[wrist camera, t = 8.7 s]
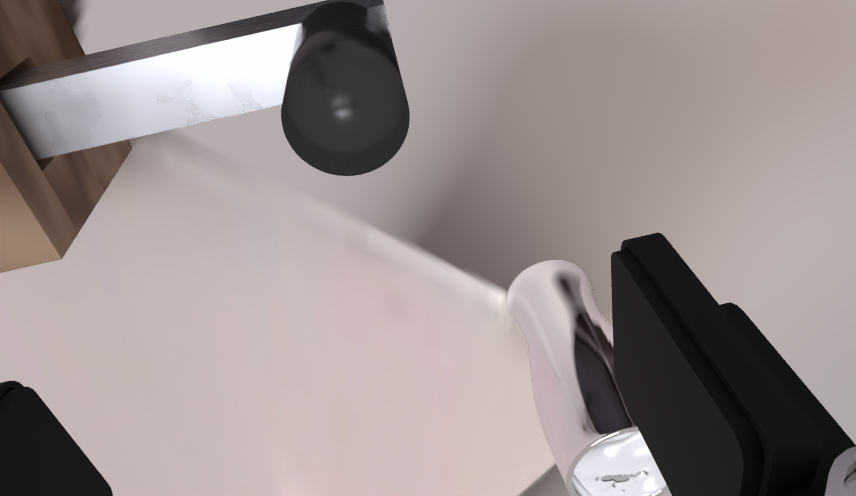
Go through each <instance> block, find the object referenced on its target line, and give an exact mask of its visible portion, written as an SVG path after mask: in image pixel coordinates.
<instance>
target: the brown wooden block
mask: <svg viewBox="0 0 856 496" xmlns="http://www.w3.org/2000/svg"><path fill="white" fill-rule="evenodd" d="M84 55H85V54H84V51H83V49H82V47H81V45H80V43H79V41H78V39H77V37H76V35H75V33H74V31H73V29H72V27H71V25H70V23H69V21H68V19H67V17H66V15H65V13H64V11H63V9H62V7H61V5H60V3H59V1H58V0H0V78H1V77H2V76H3V75H5V74H6V73H9V72H14V71H18V70H23V69H27V68H31V67H36V66H40V65H45V64H49V63H53V62H58V61H62V60H67V59H71V58H75V57H80V56H84ZM131 149H132V148H131V146H130V144H129V142H128V140H123V141H118V142H114V143H109V144H105V145H101V146H96V147H92V148H87V149H83V150H78V151H74V152H70V153H65V154H61V155H56V156H52V157H47V158H43V159H39V160H35V159H34V157H33V155H32V154H31V152H30V150H29V149H28V147H27V145H26V144H25V142H24V140H23V139H22V137H21V135H20V134H19V132H18V130H17V129H16V127H15V125H14V124H13V122H12V120H11V119H10V117H9V115H8V114H7V112H6V110H5V109H4V107H3V105H2V104H1V102H0V273H2V272H6V271H11V270H15V269H20V268H24V267H29V266H33V265H37V264H42V263H46V262H51V261H55V260H60V259H62V258H63V256H64V255H65V253H66V251H67V250H68V248H69V247H70V245H71V244H72V242H73V240H74V239H75V237H76V236H77V234H78V233H79V231H80V229H81V228H82V226H83V225H84V223H85V222H86V220H87V218H88V217H89V215H90V214H91V212H92V211H93V209H94V207H95V206H96V204H97V203H98V201H99V200H100V198H101V196H102V195H103V193H104V192H105V190H106V189H107V187H108V185H109V184H110V182H111V181H112V179H113V178H114V176H115V175H116V173H117V171H118V170H119V168H120V167H121V165H122V164H123V162H124V160H125V159H126V157H127V156H128V154H129V153H130V151H131Z"/></svg>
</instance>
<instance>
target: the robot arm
mask: <svg viewBox="0 0 856 496" xmlns="http://www.w3.org/2000/svg"><path fill="white" fill-rule="evenodd" d="M611 277H612V278H611V279H612V318H613V356H614V374H615V379H616V383H617V386H618V389H619V391H620V393H621V395H622V397H623V399H624V401H625V403H626V405H627V407H628V409H629V411H630V413H631V415H632V417H633V419H634V421H635V423H636V425H637V427H638V429H639V431H640V433H641V435H642V437H643V439H644V441H645V443H646V445H647V447H648V449H649V451H650V453H651V455H652V457H653V459H654V461H655V463H656V465H657V467H658V469H659V471H660V473H661V474H662V476H663V478H664V480H665V482H666V484H667V486H668V488H669V490H670V492H671V494H672V496H856V445H855V444H854V443H853V441H852V440H851V439H850V438H849V437H848V436H847V434H846V433H845V432H844V431H843V429H842V428H841V427H840V426H839V425H838V423H837V422H836V421H835V420H834V419H833V417H832V416H831V415H830V414H829V413H828V412H827V410H826V409H825V408H824V407H823V405H822V404H821V403H820V402H819V401H818V400H817V398H816V397H815V396H814V395H813V394H812V393H811V391H810V390H809V389H808V388H807V386H806V385H805V384H804V383H803V382H802V380H801V379H800V378H799V377H798V376H797V375H796V373H795V372H794V371H793V370H792V368H791V367H790V366H789V365H788V364H787V363H786V361H785V360H784V359H783V358H782V357H781V355H780V354H779V353H778V352H777V351H776V350H775V348H774V347H773V346H772V345H771V343H769V341H768V340H767V339H766V337H765V336H764V335H763V334H762V333H761V332H760V330H759V329H758V328H757V327H756V326H755V324H754V323H753V322H752V321H751V320H750V319H749V317H748V316H747V315H746V314H745V313H744V311H743V310H741V309H740V308H739V307H738V306H737V305H735V304H733V303H725V304H722V305H719V304H718V303H717V302H716V301H715V299H714V298H713V297H712V295H711V294H710V293H709V292H708V290H707V289H706V288H705V287H704V285H703V284H702V283H701V282H700V280H699V279H698V278H697V277H696V275H695V274H694V273H693V272H692V270H691V269H690V268H689V267H688V265H687V264H686V263H685V262H684V261H683V259H682V258H681V257H680V255H679V254H678V253H677V252H676V250H675V249H674V248H673V247H672V245H671V244H670V243H669V242H668V240H667V239H666V238H665V237H664V236H663V235H662V234H661V233H654V234H650V235H645V236H641V237H637V238H632V239H628V240H624V241H623V242H622V245H621V251H617V252H613V253H612V255H611ZM0 496H113V494H112V490H111V488H110V486H109V484H108V483H107V482H106V480H105V479H104V478H103V477H102V475H101V474H100V473H99V472H98V470H97V469H96V468H95V466H94V465H93V464H92V463H91V461H90V460H89V459H88V458H87V456H86V455H85V454H84V453H83V451H82V450H81V449H80V447H79V446H78V445H77V444H76V442H75V441H74V440H73V439H72V437H71V436H70V435H69V434H68V432H67V431H66V430H65V429H64V427H63V426H62V425H61V423H60V422H59V421H58V420H57V418H56V417H55V416H54V415H53V413H52V412H51V411H50V410H49V408H48V407H47V406H46V404H45V403H44V402H43V401H42V399H41V398H40V397H39V396H38V394H37V393H36V392H35V391H34V390H33V389H32V388H29V387H24V386H23V385H22V384H20V383H19V382H16V381H7V382H3V383H0Z"/></svg>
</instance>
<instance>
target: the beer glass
mask: <svg viewBox="0 0 856 496" xmlns="http://www.w3.org/2000/svg"><path fill="white" fill-rule="evenodd" d="M507 308H508V311H509V313H510V315H511V317H512V318H513V320H514V321H515V322H516V324H517V325H518V326H519V328H520V329H521V331H522V333H523V335H524V337H525V340H526V344H527V349H528V356H529V365H530V374H531V382H532V390H533V395H534V400H535V406H536V410H537V414H538V417H539V420H540V424H541V427H542V430H543V433H544V435H545V438H546V440H547V443H548V446H549V448H550V450H551V453H552V455H553V457H554V459H555V462H556V464H557V466H558V468H559V470H560V472H561V475H562V477H563V479H564V481H565V483H566V487H567V490H568V492H569V494H570V495H571V496H659V495H661V494H663V493H664V492H666V491H667V490H668V489H669V488H668V486H667V484H666V482H665V480H664V478H663V476H662V474H661V473H660V471H659V469H658V467H657V465H656V463H655V461H654V459H653V457H652V455H651V453H650V451H649V449H648V447H647V445H646V443H645V441H644V439H643V437H642V435H641V433H640V431H639V429H638V427H637V425H636V423H635V421H634V419H633V417H632V415H631V413H630V411H629V409H628V407H627V405H626V403H625V401H624V399H623V397H622V395H621V393H620V391H619V389H618V386H617V383H616V379H615V374H614V356H613V325H612V324H611V323H610V322H609V321H608V320H607V319H606V317H605V316H604V315H603V314H602V312H601V311H600V309H599V308H598V305H597V303H596V301H595V297H594V293H593V289H592V285H591V281H590V279H589V277H588V275H587V273H586V272H585V271H584V270H583V269H582V268H581V267H580V266H578V265H577V264H575V263H573V262H570V261H566V260H559V259H558V260H557V259H554V260H546V261H542V262H539V263H536V264H534V265H532V266H530V267H528V268H527V269H525V270H524V271H523V272H521V273H520V274H519V275H518V276H517V277H516V278H515V280H514V281H513V282H512V284H511V285H510V288H509V290H508V293H507Z"/></svg>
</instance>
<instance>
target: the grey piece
mask: <svg viewBox="0 0 856 496" xmlns="http://www.w3.org/2000/svg"><path fill="white" fill-rule="evenodd" d="M0 102H1V104H2V105H3V107H4V109H5V110H6V112H7V114H8V115H9V117H10V119H11V120H12V122H13V124H14V125H15V127H16V129H17V130H18V132H19V134H20V135H21V137H22V139H23V140H24V142H25V144H26V145H27V147H28V149H29V150H30V152H31V154H32V155H33V157H34V159H35V160H39V159H43V158H47V157H52V156H56V155H61V154H65V153H70V152H74V151H78V150H83V149H87V148H92V147H96V146H101V145H105V144H109V143H114V142H118V141H123V140H127V139H131V138H136V137H140V136H145V135H149V134H154V133H158V132H162V131H167V130H171V129H176V128H180V127H185V126H189V125H193V124H198V123H202V122H206V121H211V120H216V119H220V118H224V117H229V116H233V115H238V114H242V113H246V112H251V111H255V110H259V109H264V108H268V107H273V106H277V105H282V109H281V119H282V126H283V130H284V133H285V135H286V138H287V140H288V142H289V144H290V145H291V147H292V148H293V150H294V151H295V152H296V154H297V155H298V156H299V157H301V159H303V160H304V161H305V162H307V163H308V164H309V165H311V166H312V167H314V168H316V169H318V170H320V171H323V172H326V173H329V174H334V175H342V176H354V175H360V174H364V173H367V172H371V171H373V170H375V169H377V168H379V167H381V166H382V165H384V164H385V163H387V162H388V161H389V160H390V159H391V158H392V157H393V156H394V155H395V154H396V153H397V151H398V150H399V149H400V147H401V146H402V144H403V142H404V140H405V138H406V135H407V132H408V128H409V107H408V102H407V98H406V94H405V90H404V87H403V82H402V78H401V74H400V70H399V67H398V63H397V58H396V55H395V51H394V47H393V43H392V39H391V34H390V29H389V25H388V20H387V15H386V11H385V7H384V2H383V0H327V1H322V2H318V3H313V4H309V5H305V6H300V7H296V8H291V9H287V10H283V11H278V12H274V13H269V14H265V15H261V16H256V17H252V18H247V19H243V20H238V21H234V22H230V23H225V24H221V25H217V26H212V27H208V28H203V29H199V30H194V31H190V32H186V33H181V34H177V35H172V36H169V37H164V38H159V39H155V40H150V41H146V42H142V43H137V44H133V45H129V46H124V47H120V48H115V49H111V50H106V51H102V52H98V53H93V54H89V55H84V56H80V57H75V58H71V59H67V60H62V61H58V62H53V63H49V64H45V65H40V66H36V67H31V68H27V69H23V70H18V71H14V72H9V73H6V74H5V75H3V76H2V77H1V78H0Z"/></svg>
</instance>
